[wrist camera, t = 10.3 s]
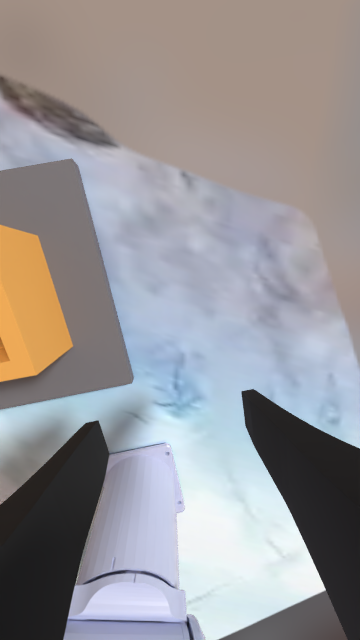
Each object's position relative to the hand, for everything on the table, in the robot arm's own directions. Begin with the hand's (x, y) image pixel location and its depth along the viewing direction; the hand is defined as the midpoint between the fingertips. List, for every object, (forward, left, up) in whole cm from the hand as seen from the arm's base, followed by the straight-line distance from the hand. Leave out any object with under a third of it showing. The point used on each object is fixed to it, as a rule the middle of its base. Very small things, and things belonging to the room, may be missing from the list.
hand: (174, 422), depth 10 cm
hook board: (+7, +11, -9) cm, 16 cm away
